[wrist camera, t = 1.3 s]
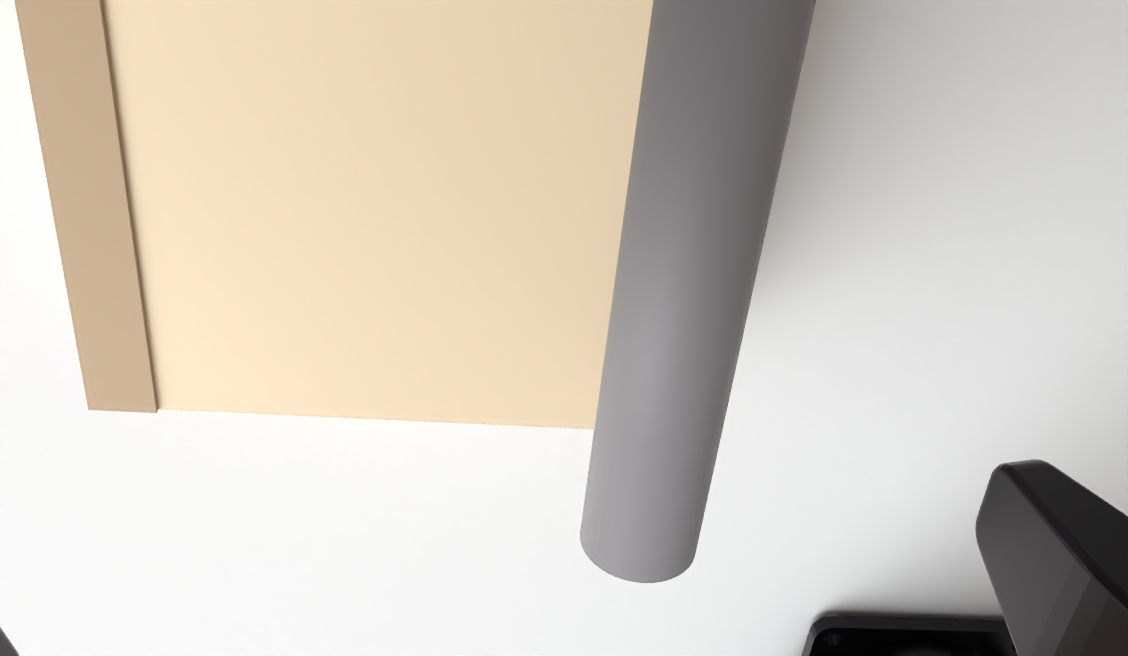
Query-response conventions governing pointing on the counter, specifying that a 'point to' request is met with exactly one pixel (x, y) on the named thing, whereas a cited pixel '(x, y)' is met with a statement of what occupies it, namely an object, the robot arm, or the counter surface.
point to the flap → (426, 218)
